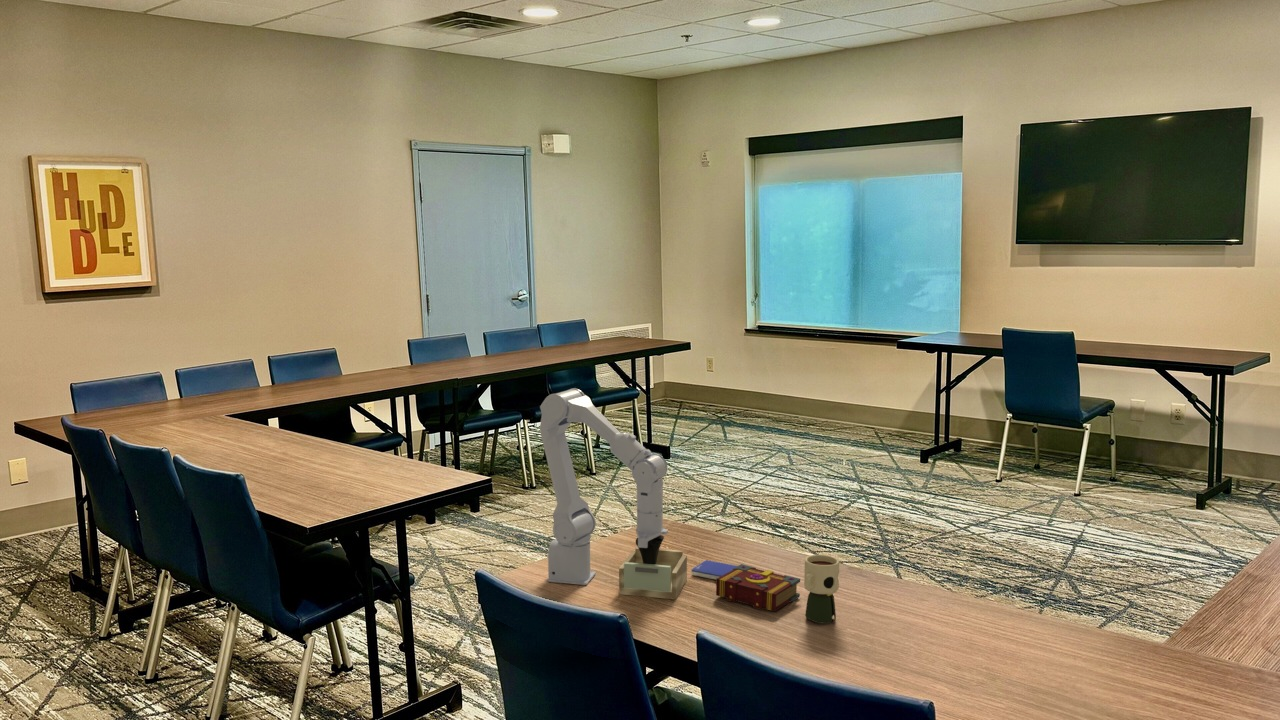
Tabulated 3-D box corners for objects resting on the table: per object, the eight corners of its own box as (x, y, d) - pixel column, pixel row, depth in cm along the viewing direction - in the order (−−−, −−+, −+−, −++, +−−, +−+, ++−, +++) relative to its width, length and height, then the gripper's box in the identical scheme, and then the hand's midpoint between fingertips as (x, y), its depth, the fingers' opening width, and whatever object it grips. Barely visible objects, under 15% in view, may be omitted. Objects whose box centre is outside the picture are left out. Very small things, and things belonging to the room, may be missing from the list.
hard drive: (691, 569, 230) (739, 578, 224) (706, 559, 237) (754, 568, 231) (691, 575, 230) (739, 585, 224) (706, 565, 237) (754, 574, 231)
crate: (619, 594, 219) (619, 563, 218) (632, 575, 231) (632, 546, 230) (676, 599, 216) (676, 568, 215) (686, 580, 228) (686, 551, 227)
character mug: (820, 632, 199) (822, 570, 197) (791, 623, 203) (792, 562, 202) (849, 616, 206) (850, 557, 205) (820, 607, 211) (821, 549, 209)
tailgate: (623, 588, 217) (623, 564, 217) (625, 586, 219) (625, 562, 218) (669, 592, 215) (669, 568, 214) (670, 590, 217) (670, 565, 216)
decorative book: (774, 614, 208) (775, 591, 207) (710, 596, 217) (710, 574, 216) (799, 598, 217) (800, 576, 216) (736, 581, 226) (737, 560, 225)
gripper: (660, 520, 209) (660, 581, 211) (674, 502, 223) (673, 559, 225) (628, 518, 211) (628, 579, 213) (643, 500, 225) (643, 557, 227)
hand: (649, 569), depth 219 cm, fingers closed
